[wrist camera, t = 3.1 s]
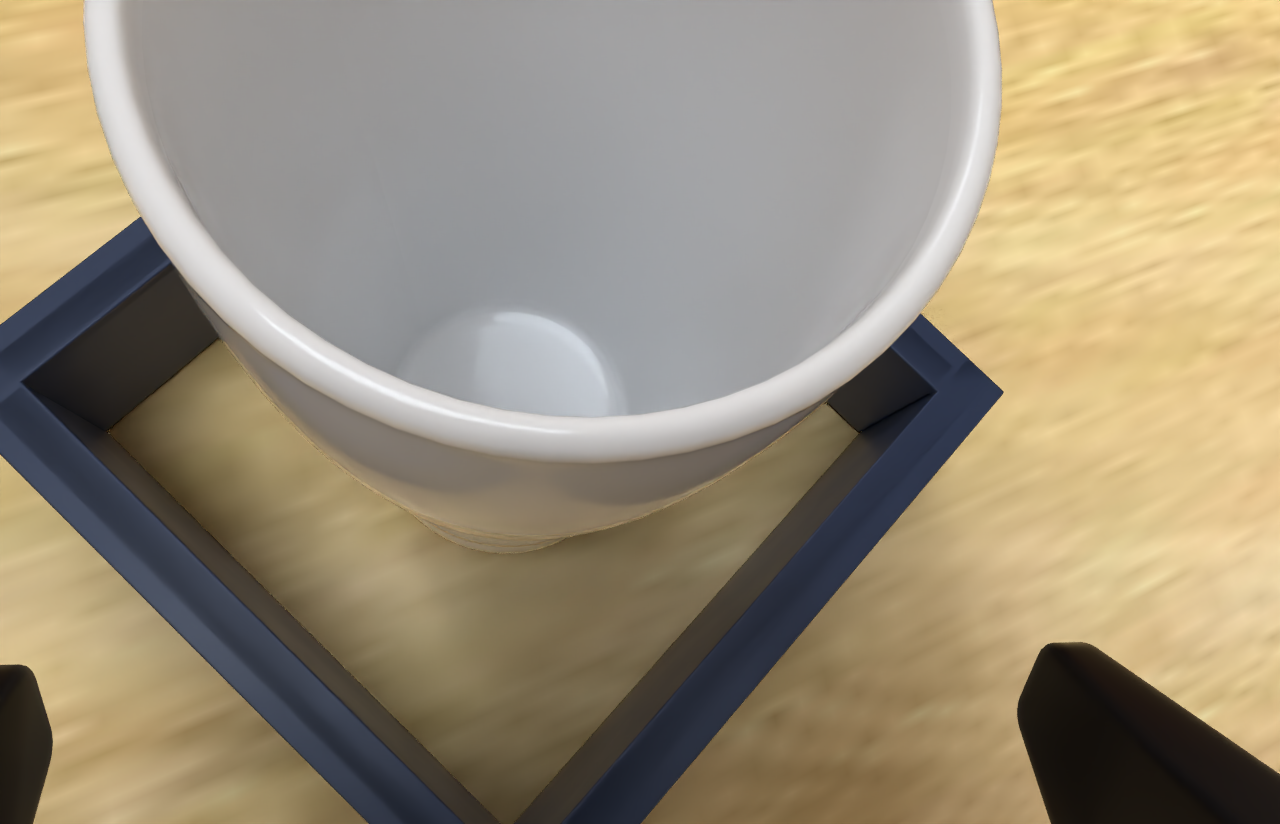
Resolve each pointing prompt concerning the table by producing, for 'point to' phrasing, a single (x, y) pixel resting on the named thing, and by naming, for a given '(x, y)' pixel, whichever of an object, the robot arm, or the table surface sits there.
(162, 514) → the dark blue square tray
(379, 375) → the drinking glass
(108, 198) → the table surface
